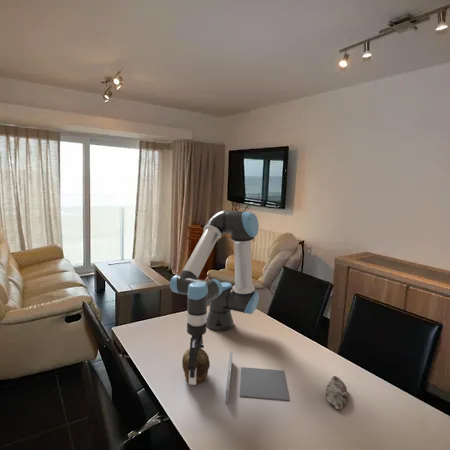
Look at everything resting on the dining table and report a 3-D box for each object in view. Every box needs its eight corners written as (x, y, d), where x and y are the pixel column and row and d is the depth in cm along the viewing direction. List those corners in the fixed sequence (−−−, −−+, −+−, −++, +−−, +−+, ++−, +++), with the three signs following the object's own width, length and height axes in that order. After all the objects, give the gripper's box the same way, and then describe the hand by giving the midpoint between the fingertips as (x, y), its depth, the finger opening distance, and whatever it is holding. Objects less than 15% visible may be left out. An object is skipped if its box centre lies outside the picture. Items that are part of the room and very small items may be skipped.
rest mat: (240, 367, 132) (240, 367, 132) (283, 371, 130) (283, 370, 130) (239, 396, 114) (239, 395, 114) (289, 400, 113) (289, 399, 113)
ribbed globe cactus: (175, 381, 121) (176, 352, 120) (191, 367, 131) (192, 340, 129) (199, 390, 116) (200, 361, 115) (214, 375, 126) (215, 347, 124)
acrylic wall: (229, 362, 136) (230, 351, 135) (232, 362, 136) (232, 351, 135) (225, 403, 110) (225, 390, 109) (228, 403, 110) (228, 390, 109)
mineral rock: (343, 414, 107) (344, 402, 107) (320, 404, 112) (321, 393, 111) (352, 392, 119) (354, 381, 119) (331, 383, 124) (332, 373, 123)
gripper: (192, 308, 133) (191, 355, 136) (180, 337, 108) (179, 393, 111) (210, 310, 133) (208, 356, 135) (201, 338, 108) (199, 394, 111)
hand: (195, 373), depth 123 cm, fingers open, 13 cm apart
